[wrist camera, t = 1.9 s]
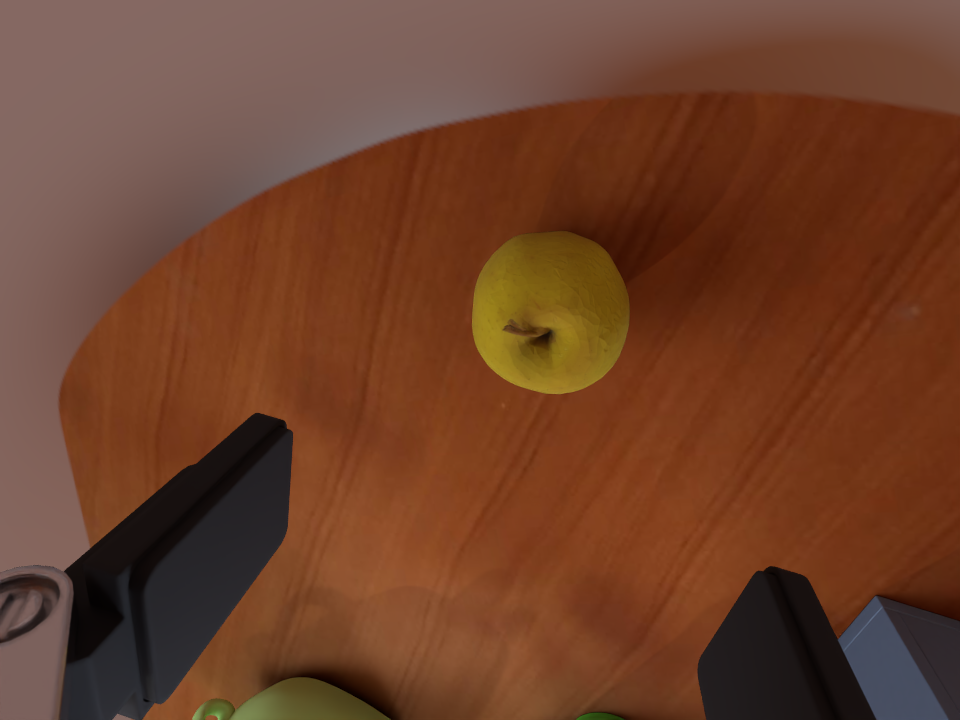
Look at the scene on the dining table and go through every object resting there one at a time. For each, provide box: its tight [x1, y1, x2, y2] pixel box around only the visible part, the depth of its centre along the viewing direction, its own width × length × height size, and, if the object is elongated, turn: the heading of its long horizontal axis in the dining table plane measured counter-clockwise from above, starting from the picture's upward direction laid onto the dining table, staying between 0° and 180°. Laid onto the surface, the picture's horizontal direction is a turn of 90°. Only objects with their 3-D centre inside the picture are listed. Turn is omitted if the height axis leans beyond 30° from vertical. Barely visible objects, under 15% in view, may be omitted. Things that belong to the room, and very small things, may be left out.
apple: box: [472, 231, 630, 394], centre depth 21 cm, size 6×6×8 cm
